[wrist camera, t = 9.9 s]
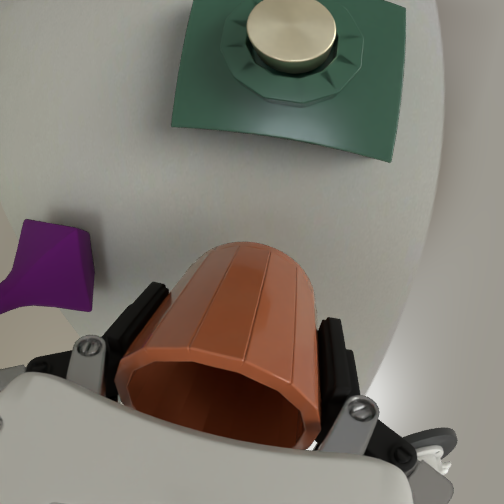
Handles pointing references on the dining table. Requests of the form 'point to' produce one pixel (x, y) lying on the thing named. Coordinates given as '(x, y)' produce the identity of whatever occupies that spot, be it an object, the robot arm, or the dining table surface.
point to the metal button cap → (291, 34)
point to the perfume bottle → (50, 269)
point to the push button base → (296, 79)
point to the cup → (232, 350)
